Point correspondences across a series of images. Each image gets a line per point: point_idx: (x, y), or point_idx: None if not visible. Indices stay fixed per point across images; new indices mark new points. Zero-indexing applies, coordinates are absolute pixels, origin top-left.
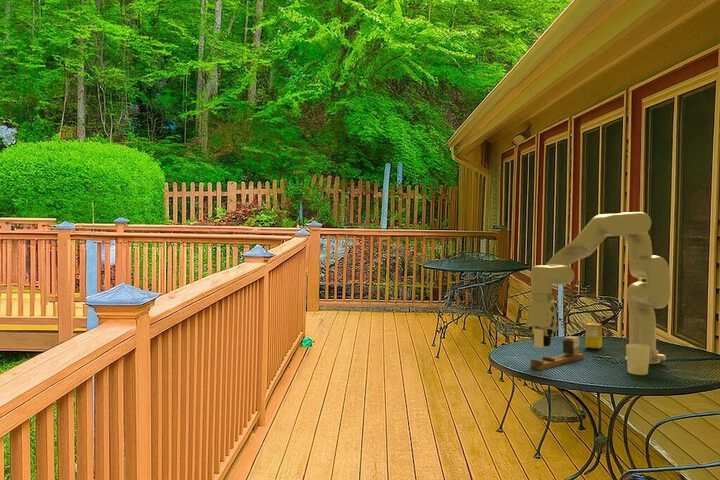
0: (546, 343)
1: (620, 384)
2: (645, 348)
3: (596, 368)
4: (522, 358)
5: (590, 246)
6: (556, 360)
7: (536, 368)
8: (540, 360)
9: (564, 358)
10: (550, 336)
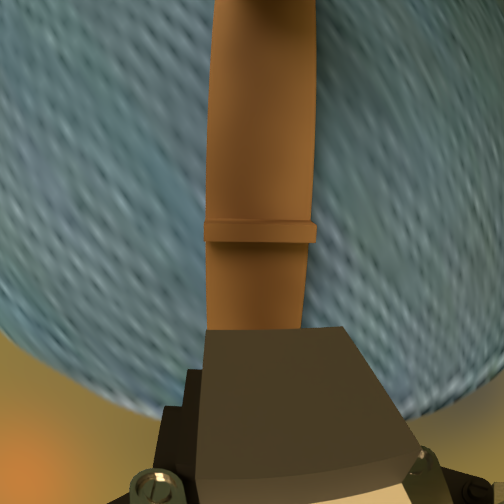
0: None
1: None
2: None
3: (471, 95)
4: (18, 171)
5: None
6: (301, 181)
7: None
8: (212, 272)
9: (306, 72)
10: (379, 391)
